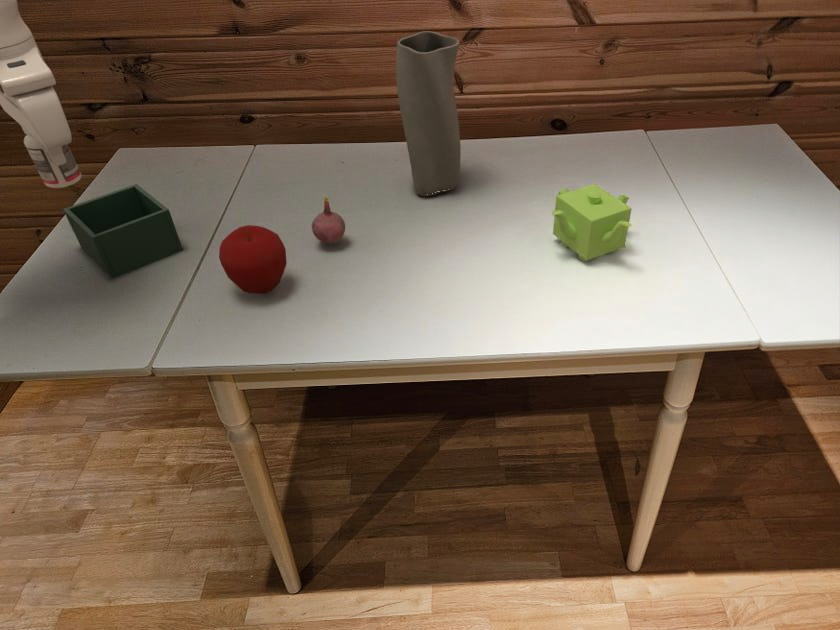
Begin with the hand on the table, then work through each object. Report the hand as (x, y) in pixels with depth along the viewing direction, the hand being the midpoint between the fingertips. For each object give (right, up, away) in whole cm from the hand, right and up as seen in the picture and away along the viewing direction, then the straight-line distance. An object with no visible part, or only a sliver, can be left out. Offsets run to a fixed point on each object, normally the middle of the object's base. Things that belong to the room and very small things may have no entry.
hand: (51, 156), depth 100 cm
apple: (+27, -19, +15) cm, 36 cm away
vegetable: (+37, -9, +26) cm, 46 cm away
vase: (+56, +6, +42) cm, 70 cm away
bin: (0, -10, +24) cm, 26 cm away
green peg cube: (+86, -10, +25) cm, 90 cm away
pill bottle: (0, -3, +3) cm, 4 cm away
